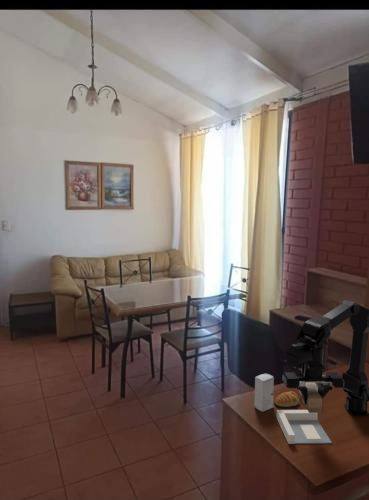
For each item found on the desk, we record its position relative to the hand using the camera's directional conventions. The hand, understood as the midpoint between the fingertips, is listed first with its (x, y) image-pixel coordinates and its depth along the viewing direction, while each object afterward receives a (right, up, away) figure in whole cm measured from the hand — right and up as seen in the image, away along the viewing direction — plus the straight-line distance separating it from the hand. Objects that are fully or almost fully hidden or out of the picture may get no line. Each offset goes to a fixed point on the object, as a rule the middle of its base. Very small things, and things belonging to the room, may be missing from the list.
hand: (311, 403), depth 118 cm
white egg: (+8, -8, +24) cm, 26 cm away
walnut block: (0, -1, 0) cm, 1 cm away
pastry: (-3, -8, +20) cm, 21 cm away
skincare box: (-12, -9, +17) cm, 22 cm away
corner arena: (-2, -10, +3) cm, 11 cm away
